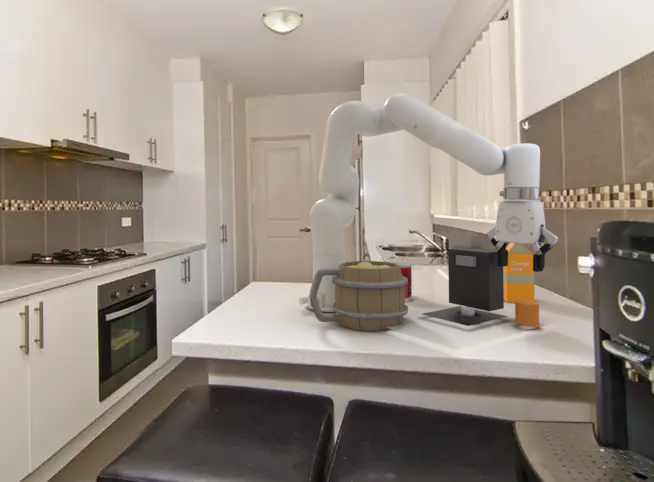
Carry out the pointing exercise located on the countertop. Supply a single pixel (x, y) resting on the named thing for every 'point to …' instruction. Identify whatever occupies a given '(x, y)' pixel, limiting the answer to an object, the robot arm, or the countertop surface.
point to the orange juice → (518, 274)
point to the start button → (468, 311)
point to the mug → (364, 295)
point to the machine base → (464, 316)
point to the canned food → (407, 273)
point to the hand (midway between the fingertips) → (519, 268)
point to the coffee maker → (475, 279)
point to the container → (527, 313)
